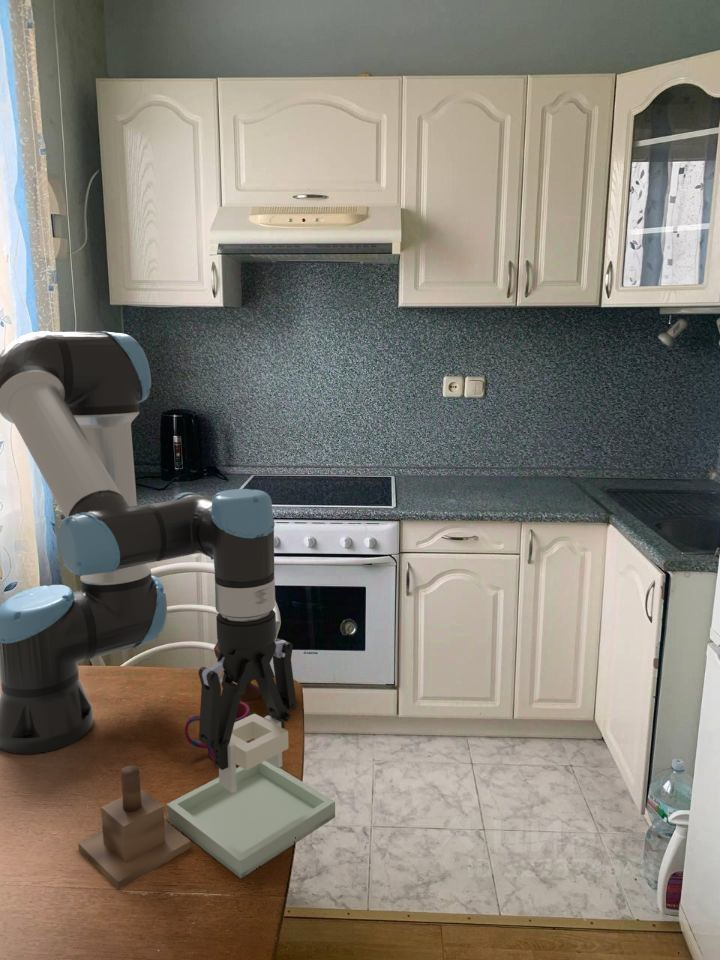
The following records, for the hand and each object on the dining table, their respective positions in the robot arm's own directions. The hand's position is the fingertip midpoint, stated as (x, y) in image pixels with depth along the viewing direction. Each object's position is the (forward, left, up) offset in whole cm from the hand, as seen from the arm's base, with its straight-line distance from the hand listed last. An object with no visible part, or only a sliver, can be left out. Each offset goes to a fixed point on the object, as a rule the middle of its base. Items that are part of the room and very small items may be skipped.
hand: (251, 775), depth 99 cm
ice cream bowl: (-29, +22, -7) cm, 37 cm away
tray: (0, 0, -7) cm, 7 cm away
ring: (0, 0, +4) cm, 4 cm away
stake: (-6, -14, -7) cm, 17 cm away
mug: (-17, +7, -7) cm, 20 cm away
